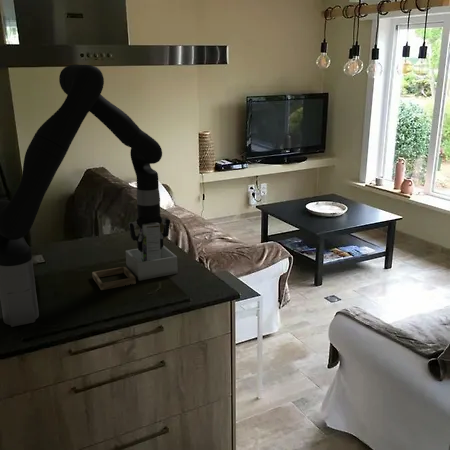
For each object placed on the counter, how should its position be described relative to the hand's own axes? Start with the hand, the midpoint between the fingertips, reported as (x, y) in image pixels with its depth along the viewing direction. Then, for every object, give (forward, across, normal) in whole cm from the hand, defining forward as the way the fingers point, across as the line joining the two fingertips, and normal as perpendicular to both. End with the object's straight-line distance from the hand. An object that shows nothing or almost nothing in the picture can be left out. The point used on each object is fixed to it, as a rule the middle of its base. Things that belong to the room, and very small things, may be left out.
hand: (150, 249), depth 176 cm
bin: (+7, 0, 0) cm, 7 cm away
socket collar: (+7, +14, +4) cm, 16 cm away
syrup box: (+5, 0, 0) cm, 5 cm away
